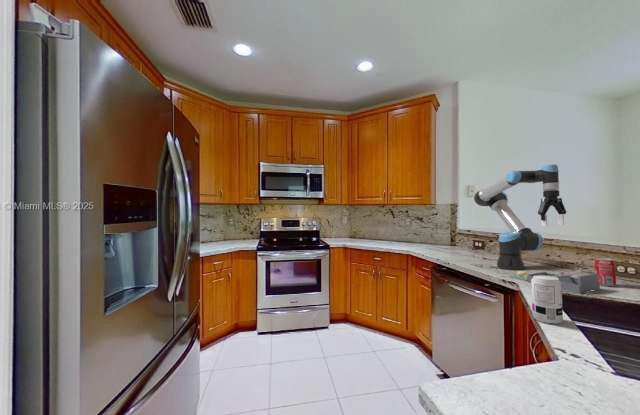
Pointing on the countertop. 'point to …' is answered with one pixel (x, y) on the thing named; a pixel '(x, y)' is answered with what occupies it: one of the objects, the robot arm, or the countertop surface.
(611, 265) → the red toy chair
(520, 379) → the countertop surface
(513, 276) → the green mat
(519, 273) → the maple bar
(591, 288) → the charcoal tray
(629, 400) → the countertop surface
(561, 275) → the lever
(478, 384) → the countertop surface
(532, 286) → the supplement can
